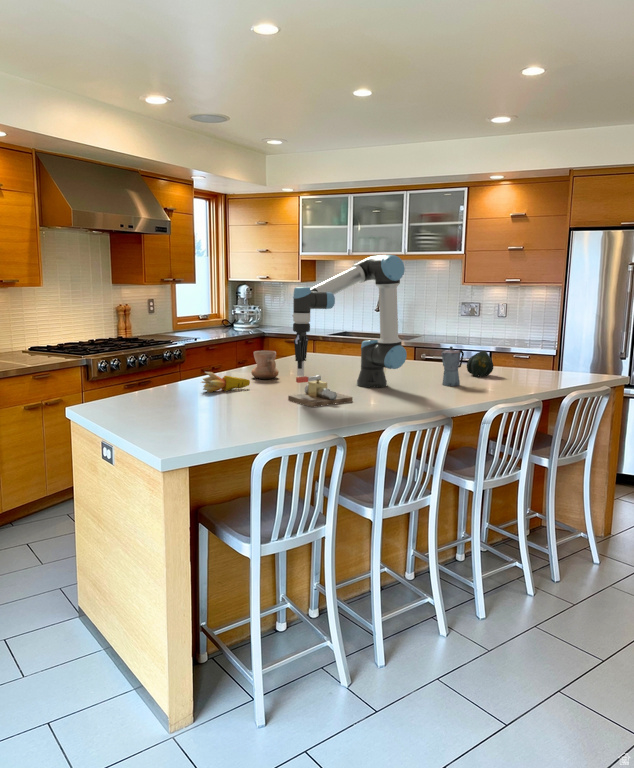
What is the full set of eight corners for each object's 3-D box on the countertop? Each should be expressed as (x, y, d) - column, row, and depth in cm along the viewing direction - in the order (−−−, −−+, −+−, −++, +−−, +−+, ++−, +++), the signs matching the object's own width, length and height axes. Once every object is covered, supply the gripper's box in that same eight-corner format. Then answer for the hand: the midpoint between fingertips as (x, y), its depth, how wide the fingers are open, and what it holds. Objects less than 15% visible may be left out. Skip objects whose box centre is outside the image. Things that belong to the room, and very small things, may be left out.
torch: (248, 396, 301) (201, 394, 287) (243, 386, 306) (195, 384, 292) (254, 382, 297) (206, 380, 283) (248, 373, 302) (200, 370, 288)
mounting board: (327, 394, 288) (327, 390, 287) (352, 401, 273) (352, 397, 273) (288, 399, 275) (288, 395, 274) (312, 407, 260) (312, 402, 260)
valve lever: (318, 379, 276) (318, 374, 275) (322, 380, 274) (322, 375, 273) (295, 382, 269) (295, 377, 268) (299, 383, 267) (299, 377, 266)
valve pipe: (313, 393, 283) (313, 377, 282) (338, 400, 268) (339, 384, 267) (302, 394, 280) (302, 378, 278) (327, 401, 264) (328, 385, 263)
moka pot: (434, 384, 319) (435, 346, 315) (454, 382, 328) (456, 344, 324) (448, 387, 311) (450, 348, 308) (468, 384, 320) (470, 346, 317)
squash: (461, 367, 346) (480, 347, 341) (462, 364, 360) (481, 346, 355) (479, 385, 344) (499, 365, 339) (480, 381, 358) (499, 363, 354)
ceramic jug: (245, 376, 335) (245, 350, 332) (269, 374, 343) (269, 349, 340) (261, 382, 320) (261, 355, 317) (285, 380, 328) (285, 353, 325)
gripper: (298, 321, 279) (297, 373, 283) (288, 323, 267) (287, 377, 271) (314, 322, 277) (313, 374, 281) (304, 323, 265) (303, 378, 269)
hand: (300, 375), depth 276 cm, fingers closed
